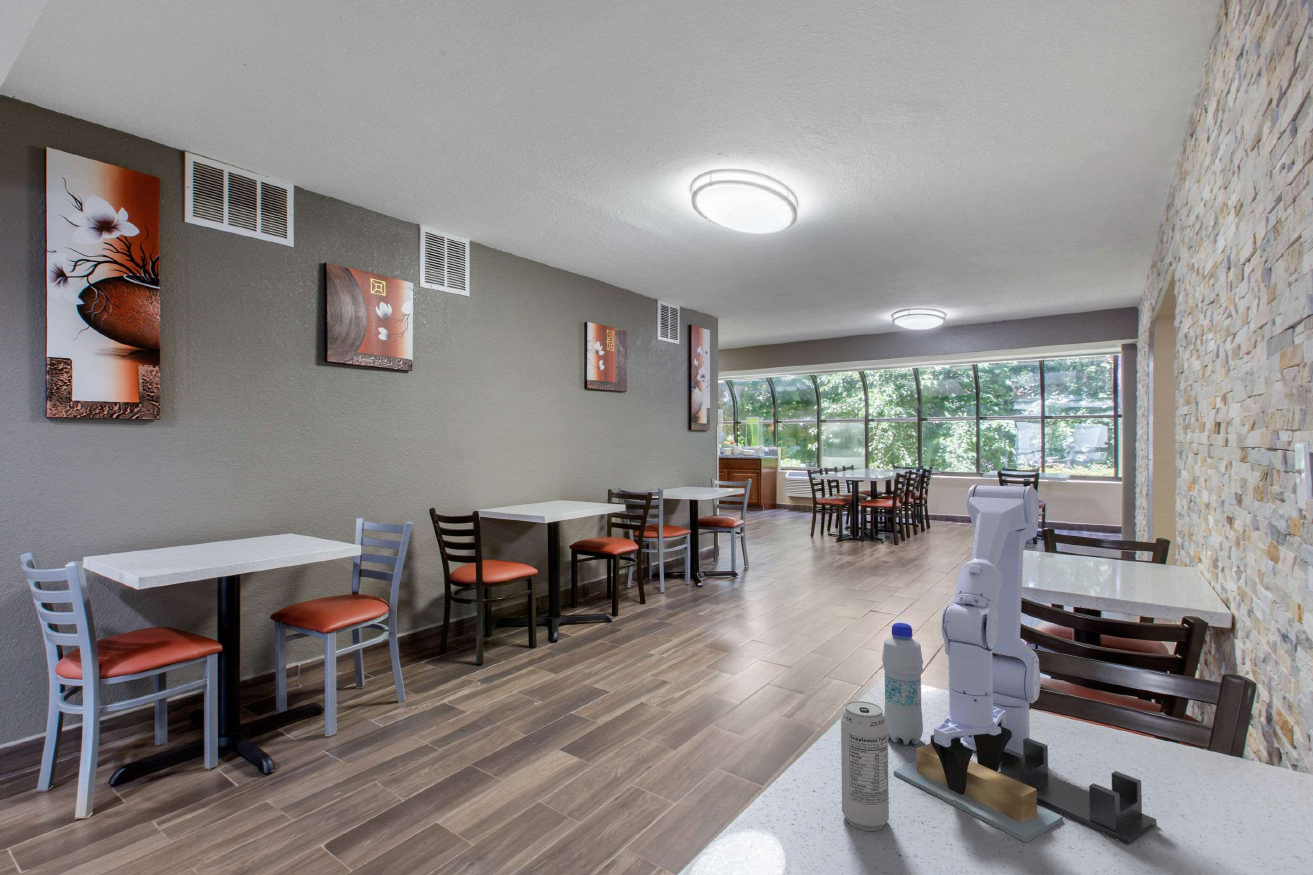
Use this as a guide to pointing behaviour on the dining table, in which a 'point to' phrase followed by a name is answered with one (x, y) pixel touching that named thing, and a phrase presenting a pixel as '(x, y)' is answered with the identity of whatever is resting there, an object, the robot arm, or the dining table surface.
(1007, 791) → the oak rail
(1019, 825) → the mat
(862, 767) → the energy drink can
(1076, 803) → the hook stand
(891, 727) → the bottle
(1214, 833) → the dining table surface
